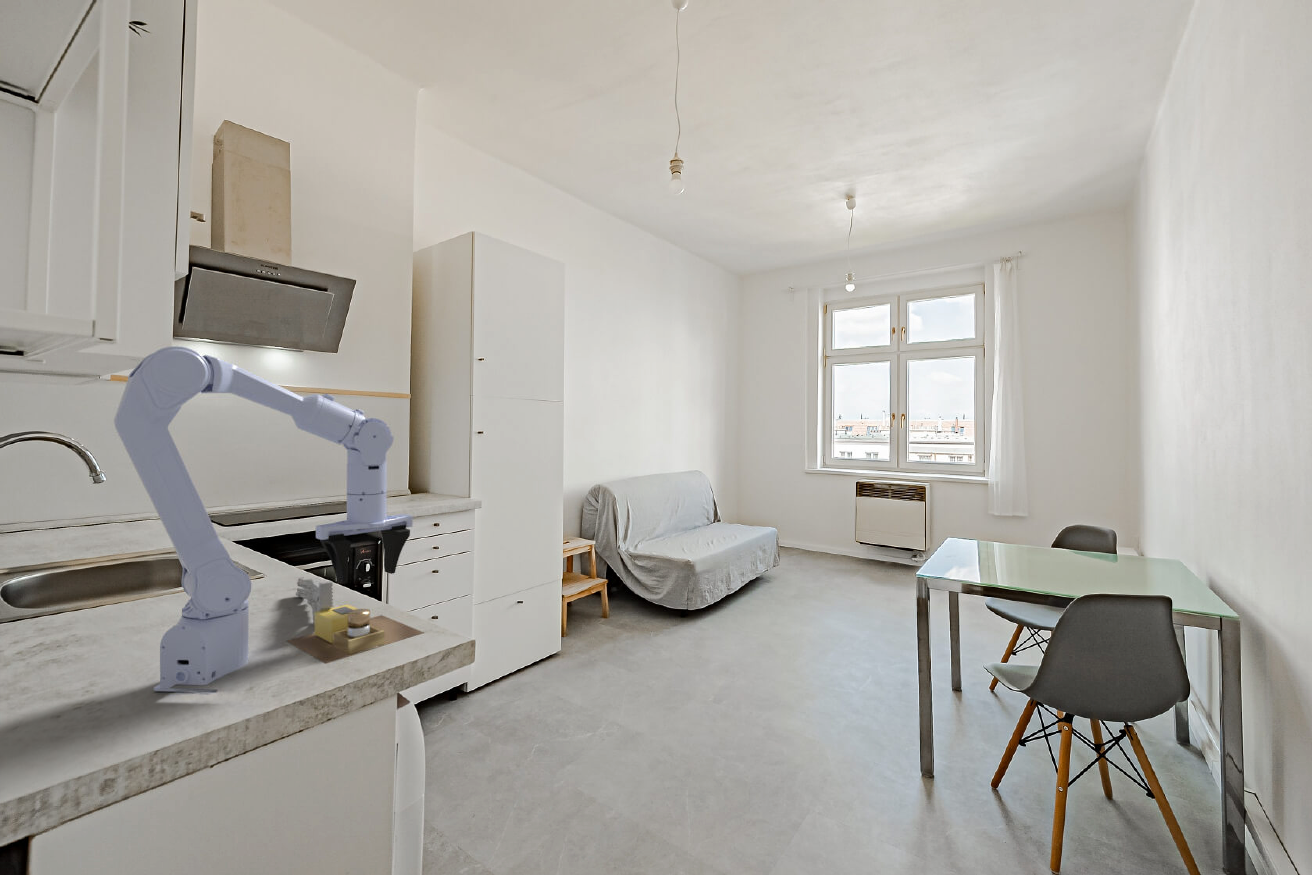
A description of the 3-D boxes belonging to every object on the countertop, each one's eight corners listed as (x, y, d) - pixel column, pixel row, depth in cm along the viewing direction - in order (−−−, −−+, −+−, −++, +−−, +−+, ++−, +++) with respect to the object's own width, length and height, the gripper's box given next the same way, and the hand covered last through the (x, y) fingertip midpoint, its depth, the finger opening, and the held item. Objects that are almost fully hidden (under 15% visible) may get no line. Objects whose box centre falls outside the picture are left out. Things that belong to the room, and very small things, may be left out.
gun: (320, 632, 89) (319, 581, 90) (295, 617, 112) (294, 576, 113) (334, 629, 90) (333, 579, 91) (306, 615, 114) (306, 575, 115)
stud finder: (331, 643, 87) (331, 619, 87) (314, 634, 90) (314, 611, 90) (364, 633, 91) (364, 610, 91) (347, 625, 94) (347, 603, 94)
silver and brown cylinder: (363, 648, 85) (363, 615, 85) (343, 648, 85) (343, 614, 85) (373, 641, 88) (373, 608, 88) (353, 640, 88) (354, 608, 88)
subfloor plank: (325, 671, 80) (325, 648, 80) (285, 648, 88) (285, 627, 88) (424, 639, 92) (424, 620, 92) (381, 621, 100) (381, 603, 100)
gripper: (330, 499, 84) (330, 592, 84) (422, 491, 95) (422, 572, 96) (309, 495, 88) (309, 583, 89) (400, 487, 100) (399, 565, 100)
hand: (366, 577), depth 92 cm, fingers open, 7 cm apart
